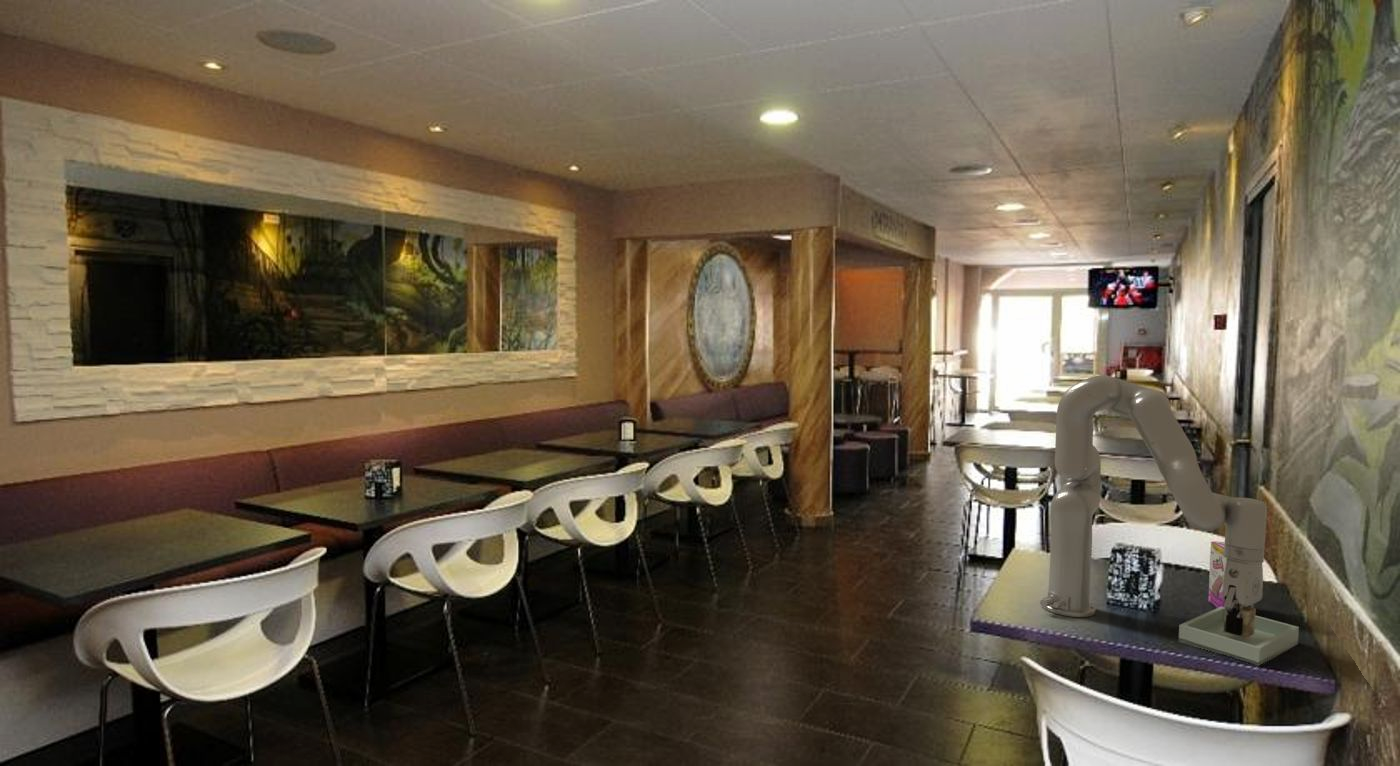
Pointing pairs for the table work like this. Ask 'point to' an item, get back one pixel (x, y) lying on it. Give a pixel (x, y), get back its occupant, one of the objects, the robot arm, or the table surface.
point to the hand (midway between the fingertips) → (1238, 630)
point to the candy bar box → (1217, 574)
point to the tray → (1254, 649)
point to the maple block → (1245, 621)
